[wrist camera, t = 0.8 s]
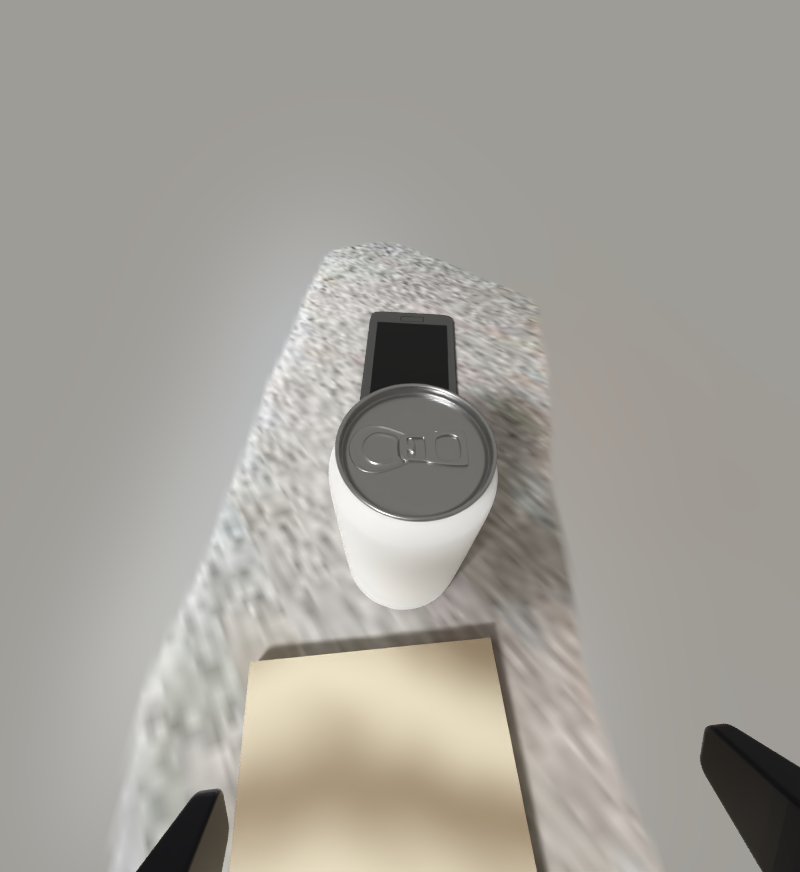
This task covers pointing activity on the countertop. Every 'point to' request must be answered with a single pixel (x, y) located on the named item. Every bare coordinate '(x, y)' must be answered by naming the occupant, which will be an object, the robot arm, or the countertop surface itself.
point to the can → (411, 490)
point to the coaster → (379, 765)
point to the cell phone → (409, 351)
